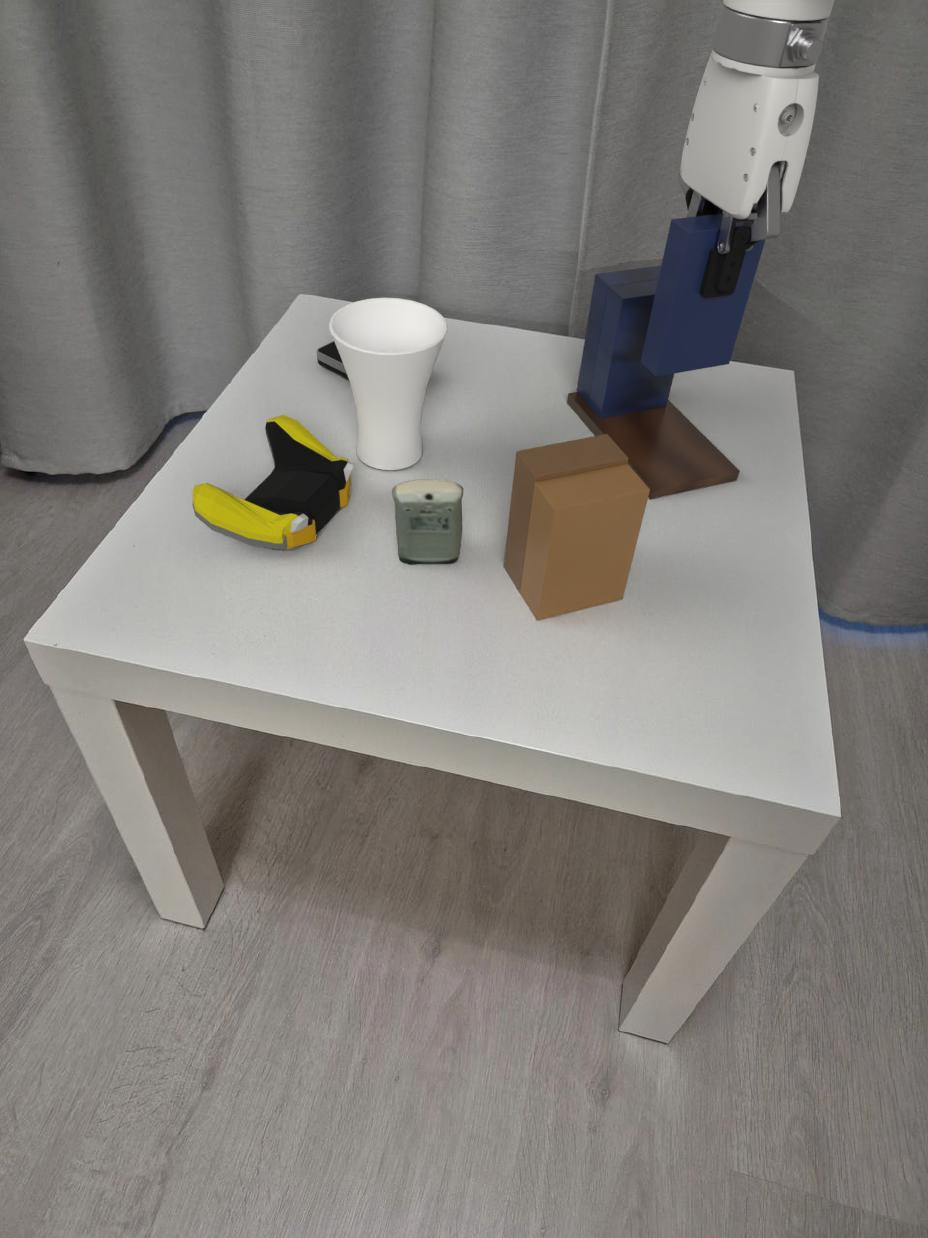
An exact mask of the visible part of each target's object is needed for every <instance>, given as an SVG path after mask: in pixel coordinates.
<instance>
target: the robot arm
mask: <svg viewBox="0 0 928 1238" xmlns="http://www.w3.org/2000/svg"><path fill="white" fill-rule="evenodd" d="M834 3H835V0H723V2H722V5H721V9H720V13H719V18H718V23H717V27H716V32H715V36H714V40H713V44H712V51H711V53H710V56H709V58H708V61H707V63H706V66H705V69H704V72H703V75H702V78H701V81H700V84H699V88H698V91H697V93H696V97H695V100H694V104H693V106H692V107H693V108H692V111H691V115H690V119H689V122H688V125H687V126H688V127H687V129H686V134H685V139H684V142H683V143H684V144H683V148H682V155H681V160H680V168H679V169H680V170H679V174H678V182H679V184H680V187H681V189H682V192H683V193H684V195H685V196H684V197H685V204H686V208H687V209H686V210H687V214H686V217H685V218H687V217H696V216H705V215H714V214H723V218H722V223H721V228H720V233H719V238H718V243H717V249H712V250H711V252H710V255H709V259H708V263H707V267H706V271H705V275H704V279H703V283H702V287H701V291H700V295H701V296H703V297H704V298H712V297H719V296H726V295H731V294H733V293H734V291H735V288H736V285H737V281H738V278H739V274H740V270H741V267H742V263H743V260H744V256H745V253H746V251H750V250H751V249H752V248H753V245H754V244H756V243H757V242H759V241H760V240H765V239H766V240H771V239H776V238H778V237H779V236H780V233H781V216H785V215H787V214H788V213H789V212H790V211H791V208H792V206H793V203H794V201H795V198H796V194H797V191H798V187H799V183H800V181H801V178H802V173H803V170H804V165H805V162H806V157H807V153H808V148H809V144H810V139H811V136H812V130H813V125H814V119H815V114H816V109H817V108H816V107H817V101H818V92H819V79H820V74H818V73H817V72H815V69H816V65H817V63H818V62H817V61H818V59H819V58H820V56H821V55H822V53H823V49H824V43H823V42H824V38H825V35H826V31H827V29H828V24H829V21H830V19H831V18H830V16H831V13H832V11H833V7H834ZM739 221H744V224H743V226H742V227H740V228H739V229H738V230H736V231H735V227H736V222H739ZM734 231H735V232H734ZM766 240H765V241H766Z"/></svg>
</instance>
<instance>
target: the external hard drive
mask: <svg viewBox="0 0 928 1238" xmlns="http://www.w3.org/2000/svg"><path fill="white" fill-rule="evenodd" d="M316 360H317V363H318V365H319V366H321V367H322V368H324V369H327V370H328V371H331V372H332V373H335V374H336V375H339V376H340V377H343V378H344V379H347V380H349V378H348V375H347V373H346V370H345V367H344V365H343V362H342V359H341V357H340V354H339V352H338V349H337V347H336V344H335V342H334V340H332V341H330V342H328V343H326V344H324V345H322V346H319V347H318V348H317V349H316Z"/></svg>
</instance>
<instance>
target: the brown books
mask: <svg viewBox="0 0 928 1238" xmlns="http://www.w3.org/2000/svg"><path fill="white" fill-rule="evenodd" d="M627 463H628V457H627V456H626V455H625V453H624V452H623V451H622V450H621V449H620V448H619V447H618V445H617V444H616V443H615V442H614V441H613V440H612V439H611V437H610V436H609V435H608V434H604V435H599V436H595V435H594V436H588V437H583V438H578V439H572V440H568V441H561V442H557V443H551V444H547V445H541V446H536V447H531V448H526V449H525V448H524V449H520V450H516V451H515V459H514V469H513V470H514V471H513V477H512V478H513V479H512V488H511V496H510V504H509V515H508V523H507V531H506V540H505V549H504V559H503V568H504V570H505V572H506V573H507V575H508V576H509V578H510V580H511V582H512V583H513V584H514V586H515V588H516V589H517V590H518V592H519V594H520V596H521V597H522V599H523V600H524V602H525V604H526V605H527V607H528V609H529V610H530V611H531V613H532V615H533V616H534V618H535V619H536V621H538V622H539V621H542V620H546V619H551V618H553V617H557V616H562V615H565V614H570V613H573V612H574V613H575V612H579V611H582V610H584V609H589V608H593V607H597V606H601V605H605V604H610V603H613V602H617V601H621V600H623V599H624V595H625V591H626V588H627V583H628V580H629V575H630V573H631V572H630V571H631V567H632V562H633V559H634V555H635V551H636V547H637V543H638V539H639V536H640V532H641V528H642V524H643V520H644V517H645V512H646V508H647V503H648V499H649V498H648V496H649V492H650V489H649V488H648V487H647V485H646V484H645V483H644V482H643V481H642V480H641V479H640V477H639V476H638V475H637V474H636V473H635V472H634V470H633V469H632V468H631V467H630V466H629V465H628V464H627Z"/></svg>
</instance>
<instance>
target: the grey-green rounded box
mask: <svg viewBox="0 0 928 1238" xmlns="http://www.w3.org/2000/svg"><path fill="white" fill-rule="evenodd" d="M391 496H392V500H393V502H394V515H395V516H394V518H395V533H396V544H397V555H398V556H397V557H398V560H399V562H401V563H403V564H406V565H411V566H414V565H451V564H455V563H457V562H458V561H459V558H460V553H461V545H462V539H463V497H464V487H463V486H462V485H461V484H459V483H457V482H454V481H450V480H445V479H438V478H437V479H436V478H435V479H433V478H432V479H431V478H426V479H425V478H421V479H413V480H407V481H403V482H400V483H398V484H395V485H394V486H393V488H392V489H391Z"/></svg>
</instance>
